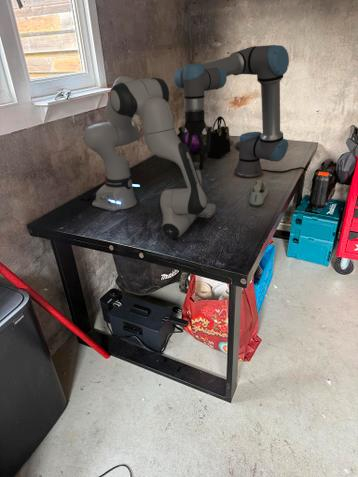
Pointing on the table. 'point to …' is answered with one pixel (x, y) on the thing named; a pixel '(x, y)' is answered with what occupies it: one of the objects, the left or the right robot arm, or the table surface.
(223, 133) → the handbag
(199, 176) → the bottle
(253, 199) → the ballet flat
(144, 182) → the table surface
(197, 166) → the cap
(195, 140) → the decorative orb
